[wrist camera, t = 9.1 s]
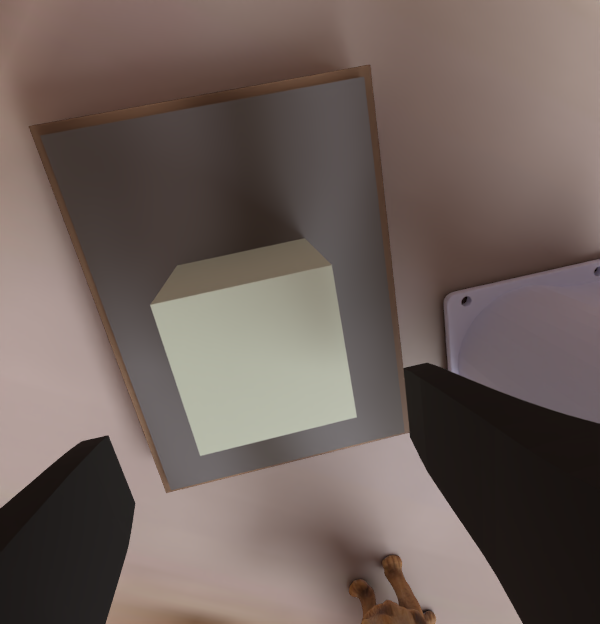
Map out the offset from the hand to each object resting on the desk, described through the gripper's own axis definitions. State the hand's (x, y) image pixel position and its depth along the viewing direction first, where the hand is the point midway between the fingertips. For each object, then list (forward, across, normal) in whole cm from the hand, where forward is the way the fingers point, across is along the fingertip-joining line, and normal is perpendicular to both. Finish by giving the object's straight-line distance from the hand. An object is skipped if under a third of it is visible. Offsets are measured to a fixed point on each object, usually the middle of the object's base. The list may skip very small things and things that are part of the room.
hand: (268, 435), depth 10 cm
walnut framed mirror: (+10, 0, -1) cm, 10 cm away
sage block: (+7, 0, -1) cm, 7 cm away
